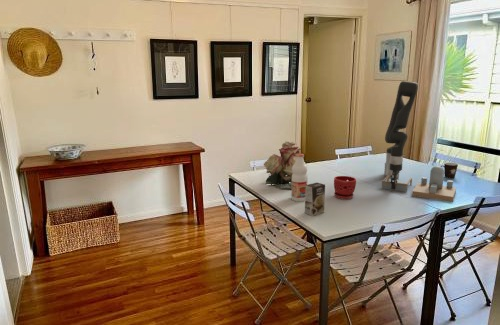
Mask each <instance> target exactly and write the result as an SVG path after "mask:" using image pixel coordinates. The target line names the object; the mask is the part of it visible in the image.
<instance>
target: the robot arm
mask: <svg viewBox="0 0 500 325" xmlns="http://www.w3.org/2000/svg"><path fill="white" fill-rule="evenodd" d="M418 89H419V84H418V82H413V81H406V80H403V81H401V82H400V83H399V85H398V88H397V92H396V99H395V103H394V106H393V109H392V113H391V117H390V122H389V124H388V127H387V129H386V132H385V136H384V140H385V143H386V144H393V145H392V146H390V147H387V149H386V154H385V155H386V158H385V163H384V173H383V175H384V176H385V177H386V176H387V175H389V178H390V182H391V184H392V186H391V189H393V190H392V191H396V190H395V184H396V182H397V183H399V182H398V181H399V177H400V172H402V171H403V164H404V163H403V162H404V158H403V156H404V148H405V146H406V143H407V141H408V134H407V133H406V132H405V131H401V130H404V129H406V128H407V127H408V121H409V117H410V114H411V110H412V107H413V106H414V102H415V99H416V96H417V93H418ZM403 97H406V98H407V97H408V98H409V99H408V101H407V103H406V104H405V102H404V100H403Z"/></svg>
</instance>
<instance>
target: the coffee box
mask: <svg viewBox="0 0 500 325" xmlns="http://www.w3.org/2000/svg"><path fill="white" fill-rule="evenodd" d="M325 194H326V184H324V183H321V182H313V183H310V184H307V185H306V193H305V201H304V213H305V214H307V215H309V216H311V217H315V216H317V215H320V214H324V213H325V199H326V197H325V196H326V195H325Z"/></svg>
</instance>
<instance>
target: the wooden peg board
mask: <svg viewBox="0 0 500 325" xmlns="http://www.w3.org/2000/svg"><path fill="white" fill-rule="evenodd" d="M440 166H441V165H434V166H433V167H431V169H430V172H429V173H430V174H429V181H428V177H426V176H425V177H424V176H422V177H421V181H420V182H417V184H416V185H415V187H414V188H413V189H412V192H411V193H412V196H413V197H418V198H419V197H420V198H424V199H425V198H426V199H432V200H438V201H444V202H453V201H454V198H455V195H456V192H457V187H455V186H453V184H454V180H450V179H449V180H447V181H446V185H444V178H445V174H444V167H443V166H442V167H440Z"/></svg>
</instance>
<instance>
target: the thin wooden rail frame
mask: <svg viewBox="0 0 500 325" xmlns="http://www.w3.org/2000/svg"><path fill="white" fill-rule="evenodd" d="M380 182H381V189H383V190H384V189H385V190H391V191H398V192H405V193H407V192H408V186H412V185H413V184H412V183H413V177H410V178H409V180H408V181H406V183H402V182H396V184H395V190H393V189H391V186H392V184H391V180H390V177H389V175H387V176H385V178H384V179H382V180H381V181H380Z"/></svg>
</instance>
